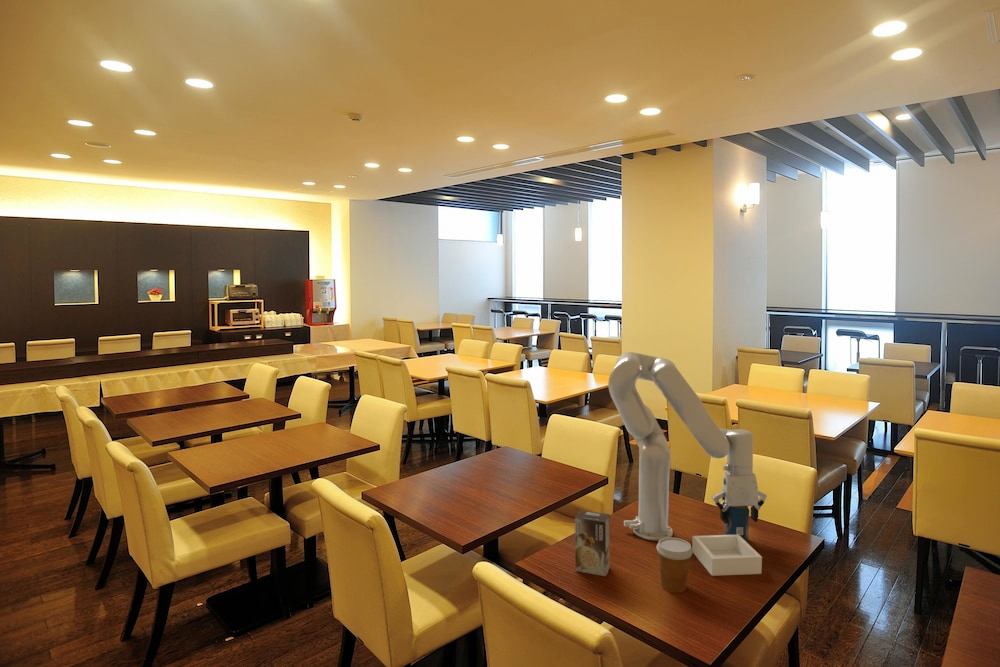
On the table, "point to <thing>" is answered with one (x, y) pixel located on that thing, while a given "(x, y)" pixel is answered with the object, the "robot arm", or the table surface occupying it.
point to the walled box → (726, 555)
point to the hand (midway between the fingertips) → (739, 521)
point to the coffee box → (592, 542)
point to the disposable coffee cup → (674, 563)
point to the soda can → (738, 521)
